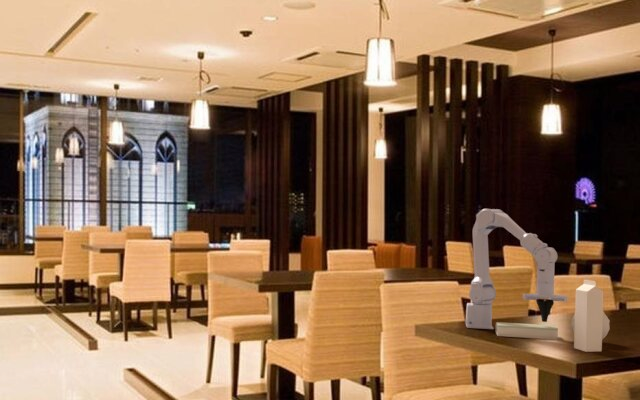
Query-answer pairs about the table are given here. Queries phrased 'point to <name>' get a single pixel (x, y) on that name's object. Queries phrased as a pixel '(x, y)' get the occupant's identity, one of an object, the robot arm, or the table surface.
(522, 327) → the duct lid
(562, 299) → the robot arm
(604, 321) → the decorative ball
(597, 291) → the milk
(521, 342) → the table surface
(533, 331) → the cable duct
